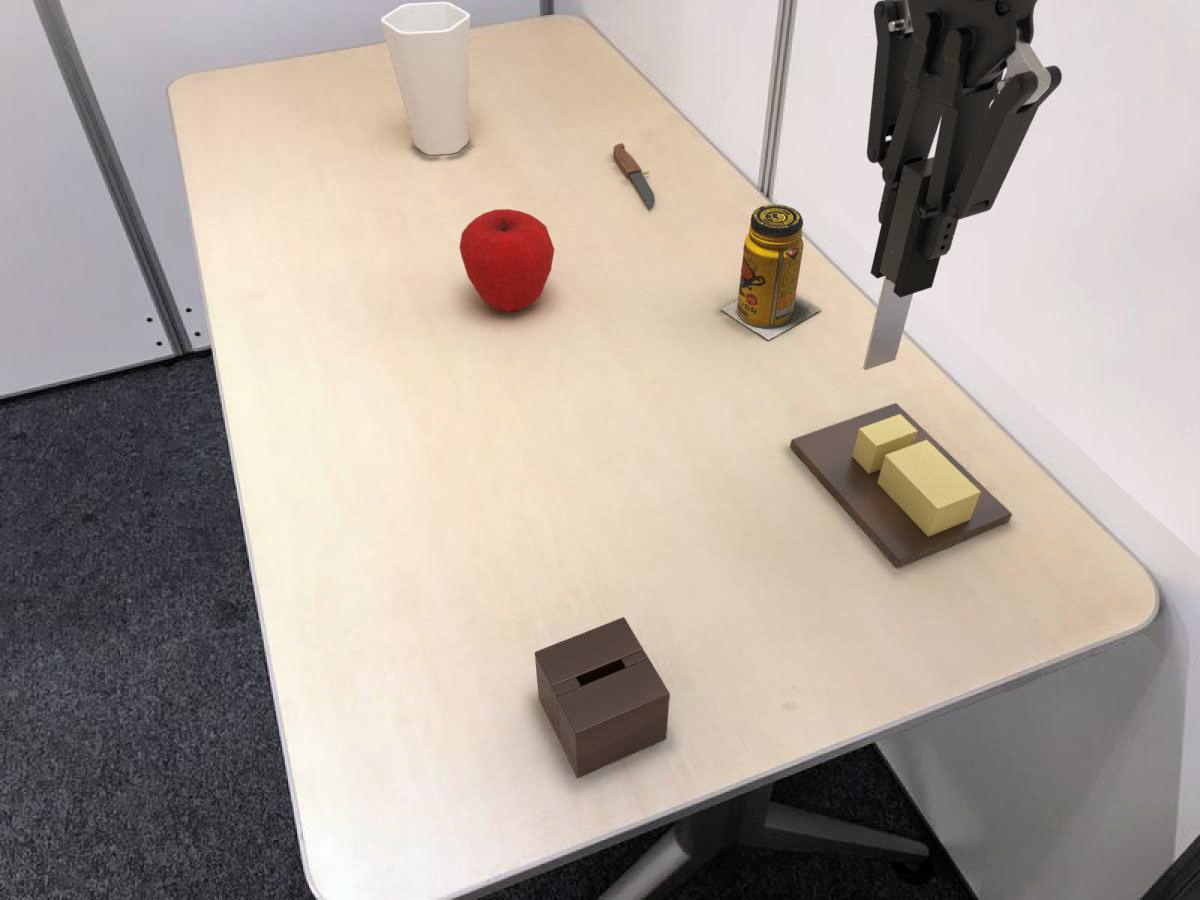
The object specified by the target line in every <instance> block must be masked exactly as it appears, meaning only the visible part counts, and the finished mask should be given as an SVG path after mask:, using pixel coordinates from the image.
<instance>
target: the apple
mask: <svg viewBox="0 0 1200 900" xmlns="http://www.w3.org/2000/svg"><path fill="white" fill-rule="evenodd" d="M459 251H460V256H461V259H462V262H463V263H462V264H463V266H464V269H465V272H466V275H467V278H468V280H469V281H470V283H471V284H472V286H473V288H474V289H475V291H476V293H477V294H478V296H479V297H480V298H481V299H482V301H483V302H484V303H485V304H487V305H489V306H491V307H493V308H495V309H497V310H498V311H501V312H502V311H503V312H507V313H512V312H518V311H520V310H523V309H524V308H526V307H528V306H531V305H532V304H534V303H535V302H536V301H538V300H539V299H540V298H541V295H542V293H543V291H544V289H545V286H546V284H547V281H548V279H549V276H550V273H551V271H552V266H553V262H554V261H553V260H554V255H555V247H554V244H553V242H552V239H551V236H550V233H549V230H548V228H547V225H546V224H544V223H543V222H542V221H541V220H540V219H538V218H536V217H535V216H533V215H532V214H529V213H527V212H524V211H521V210H515V209H510V208H503V209H502V208H501V209H500V208H499V209H494V210H490V211H486V212H484V213H482V214H480V215H479V216H477V217H474V219H473V220H471V221H470V222H469V223H468V224H467V225H466V227H465V228H464V230H463V231H462V232H461V236H460V242H459Z"/></svg>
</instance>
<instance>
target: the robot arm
mask: <svg viewBox="0 0 1200 900" xmlns="http://www.w3.org/2000/svg"><path fill="white" fill-rule="evenodd" d="M1038 1H1039V0H878V1H876V3H875V5H874V7H873V16H874V25H875V26H874V27H875V34H876V42H877V43H876V44H877V45H876V53H875V64H874V75H873V82H872V83H873V85H872V94H871V105H870V113H869V114H870V115H869V125H868V134H867V145H866V156H867V159H868V161H869V162H870V163H871V164H878V165H879V167H880V168H881V169H882V171H881V177H882V180H883V181H884V187H883V192H882V195H881V201H880V206H879V209H878V213H877V216H878V217H877V218H878V223H879V224H880V229H879V232H878V233H879V234H878V238H877V241H876V246H875V250H874V256H873V259H872V264H871V268H870V275H872V276H873V277H874V278H875V279H881V278H885V276H884V275H883V274H881V273H880V272H879V270H880V266H881V261H882V257H883V253H884V248H885V244H886V240H887V236H888V231H889V227H890V223H891V218H892V214H893V210H894V206H895V201H896V197H897V193H898V188H899V184H900V180H901V176H902V171H903V167H904V165H906V164H910V163H914V162H917V161H921V160H925V159H928V158H929V155H930V153H931V150H932V147H933V143H934V140H935V137H936V136H937V139H936V146H935V149H934V156H933V157H934V161H933V166H932V172H931V177H930V183H929V188H928V194H927V199H926V203H923V204H920V205H916V207H914V210H913V214H912V218H911V222H910V226H909V230H908V234H907V238H906V242H905V246H904V251H903V255H902V259H901V263H900V267H899V271H898V275H897V279H896V283H895V287H894V291H893V292H894V293H895V294H896V295H898V296H899V297H900V298H901V297H904V296H907V295H910V294H913V295H914V294H916V293H919V292H922V291H925V290H928V289H932V288H933V285H934V283H935V282H934V281H935V278H936V274H937V272H938V268H939V264H940V260H941V257H942V256H946V255H947V254H948V252H950V250H951V247H952V244H953V241H954V236H955V234H956V230H957V226H958V223H959V220H962V219H966V218H969V217H972V216H977V215H979V214H982V213H986V212H988V211H990V210H991V209H992V208H993V207H994V204H995V202H996V199H997V197H998V195H999V194H1000V191H1001V189H1002V187H1003V185H1004V182H1005V180H1006V178H1007V177H1008V173H1009V171H1010V170H1011V167H1012V165H1013V163H1014V162H1015V159H1016V157H1017V155H1018V153H1019V150H1020V149H1021V146H1022V144H1023V141H1024V139H1025V137H1026V136H1027V133H1028V132H1029V129H1030V127H1031V125H1032V122H1033V121H1034V118H1035V116H1036V113H1037V111H1038V109H1039V107H1040V106H1041V105H1042V104H1043V103H1044V102H1045V101H1046V100H1047V99H1048V98H1049V97H1050V96H1051V95H1052V93H1054V91H1055V90H1056V89H1057V88H1058V87H1059V86H1060V84H1061V83H1062V80H1063V79H1062V78H1063V74H1062V73H1063V72H1062V71H1061V69H1060V68H1059V66H1057V65H1048V66H1043V64H1042V63H1041V61H1040V59H1039V58H1038V56H1037V55H1036V53H1035V51H1034V50H1033V48H1032V46H1031V44H1032V41H1033V39H1034V35H1035V24H1034V13H1035V7H1036V4H1037V3H1038ZM1005 70H1006V72H1005V74H1004V71H1005ZM937 132H938V134H937ZM936 134H937V135H936ZM887 137H890V139H887Z"/></svg>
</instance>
